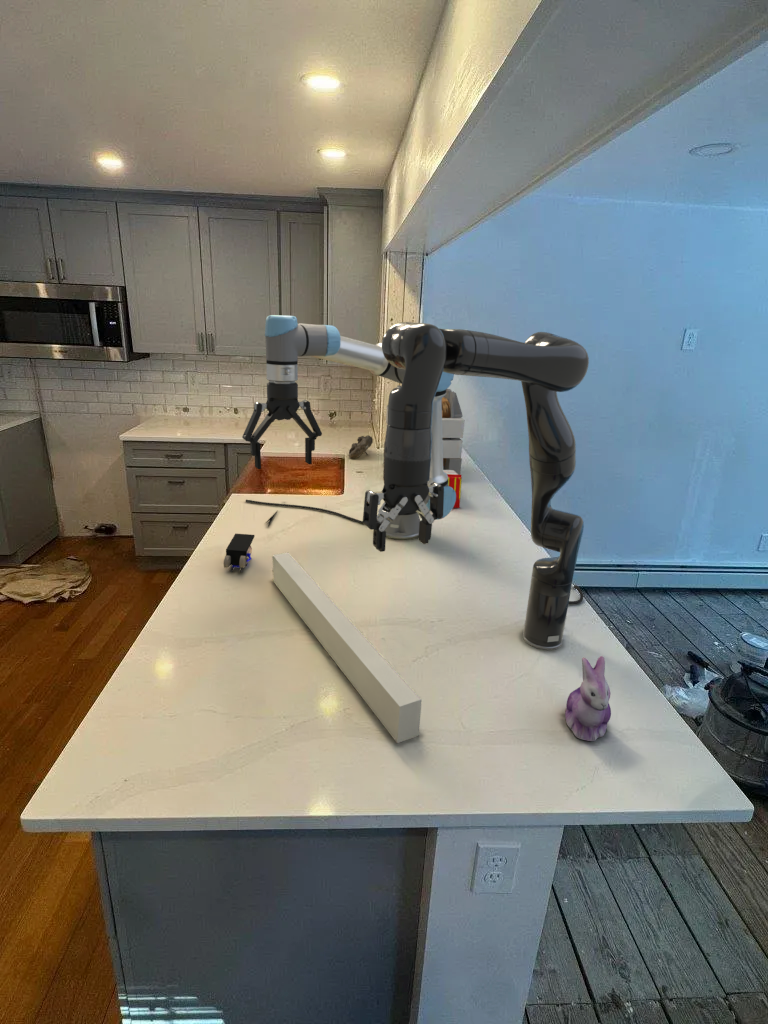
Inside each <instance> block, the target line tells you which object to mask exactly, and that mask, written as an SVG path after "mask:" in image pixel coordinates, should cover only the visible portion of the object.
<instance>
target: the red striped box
mask: <svg viewBox="0 0 768 1024" xmlns="http://www.w3.org/2000/svg"><path fill="white" fill-rule="evenodd" d="M443 472H444V473H446V474H447V475H448V486H450V487H452V488H453V490H455V493H456V501H455V504H454V507H453V509H460V507H461V505H460V504H461V493H462V481H463V480H462V477H463V476H462V475H463V474H460V475H458V474H457V473H456V472H455V471H454V470H443Z"/></svg>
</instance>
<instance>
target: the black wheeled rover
mask: <svg viewBox="0 0 768 1024" xmlns="http://www.w3.org/2000/svg"><path fill="white" fill-rule="evenodd" d="M253 540H255V534H247V533H235V534H234V535H233V537H232V538H231V539H230V542H229V544H228V546H227V547H226V549H225V556H224V558H223V567H224V568H230V569H229V572H230V573H233V571H234V569H235V568H238V569H240V570H239V573H243V570H244V569H245V568H246V567H247V565H248V563H249V562H250V561H252V557H251V556H252V552H253V548H252V546H251V544H252V543H253Z"/></svg>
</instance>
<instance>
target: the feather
mask: <svg viewBox="0 0 768 1024" xmlns="http://www.w3.org/2000/svg"><path fill="white" fill-rule="evenodd" d="M277 513H278V511H276V512H274V513H273V515H272V516H270V518H268V520H267V521H265V524H267V525H268V526H267V527H270V525H271V523H272V521H273V520H274V518H275V516H276V515H277Z"/></svg>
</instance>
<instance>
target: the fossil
mask: <svg viewBox="0 0 768 1024" xmlns="http://www.w3.org/2000/svg"><path fill="white" fill-rule="evenodd" d="M373 443H374V442H373V437H372V436H371V435H366V436H365V435H361V436H358V437H357V442H353V443H352V444H351V447H350V448H349V450H348V457H349V459H353V460H354V459H356V458H358V457H360V456H361V455H363V454H366V456H368V455H369V454H368V452H367V450H368V449H369V448H371V446H372V444H373Z"/></svg>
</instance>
